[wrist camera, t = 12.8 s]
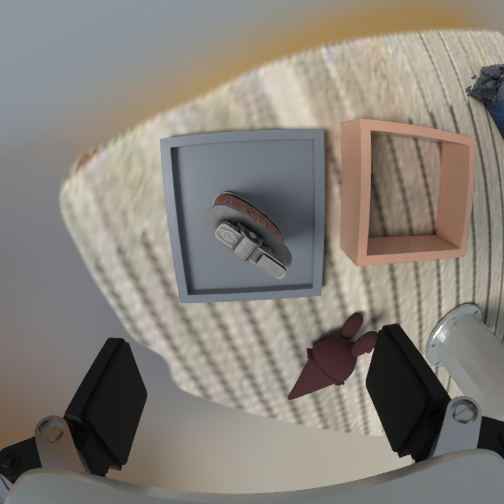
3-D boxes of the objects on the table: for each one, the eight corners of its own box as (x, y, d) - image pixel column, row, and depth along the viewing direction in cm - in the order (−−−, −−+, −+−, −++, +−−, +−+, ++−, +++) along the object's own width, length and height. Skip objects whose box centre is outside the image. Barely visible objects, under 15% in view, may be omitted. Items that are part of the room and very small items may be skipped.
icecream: (314, 420, 34) (395, 348, 32) (279, 414, 31) (372, 331, 28) (296, 386, 40) (367, 317, 38) (262, 375, 37) (341, 297, 34)
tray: (318, 130, 27) (323, 129, 26) (317, 287, 34) (321, 295, 32) (165, 139, 27) (159, 139, 25) (183, 294, 34) (180, 303, 32)
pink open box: (447, 136, 27) (474, 137, 22) (440, 241, 32) (464, 256, 27) (340, 122, 27) (360, 118, 22) (339, 247, 32) (356, 265, 27)
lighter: (206, 209, 29) (189, 239, 20) (225, 183, 28) (216, 200, 19) (268, 253, 31) (278, 298, 22) (288, 228, 30) (307, 266, 21)
